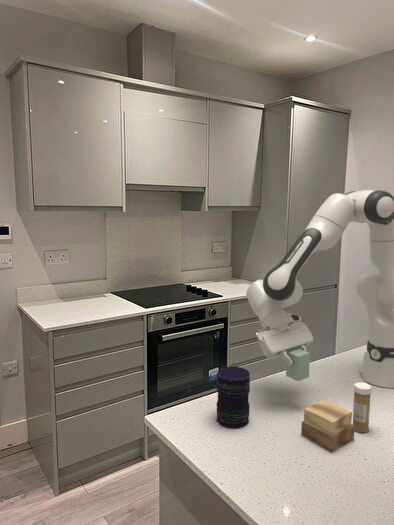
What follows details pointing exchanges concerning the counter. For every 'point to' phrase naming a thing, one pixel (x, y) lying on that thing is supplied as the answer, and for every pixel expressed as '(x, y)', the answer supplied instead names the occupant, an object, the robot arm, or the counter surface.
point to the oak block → (327, 417)
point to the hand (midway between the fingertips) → (299, 362)
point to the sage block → (298, 364)
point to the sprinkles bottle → (361, 407)
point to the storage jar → (233, 397)
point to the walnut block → (328, 437)
